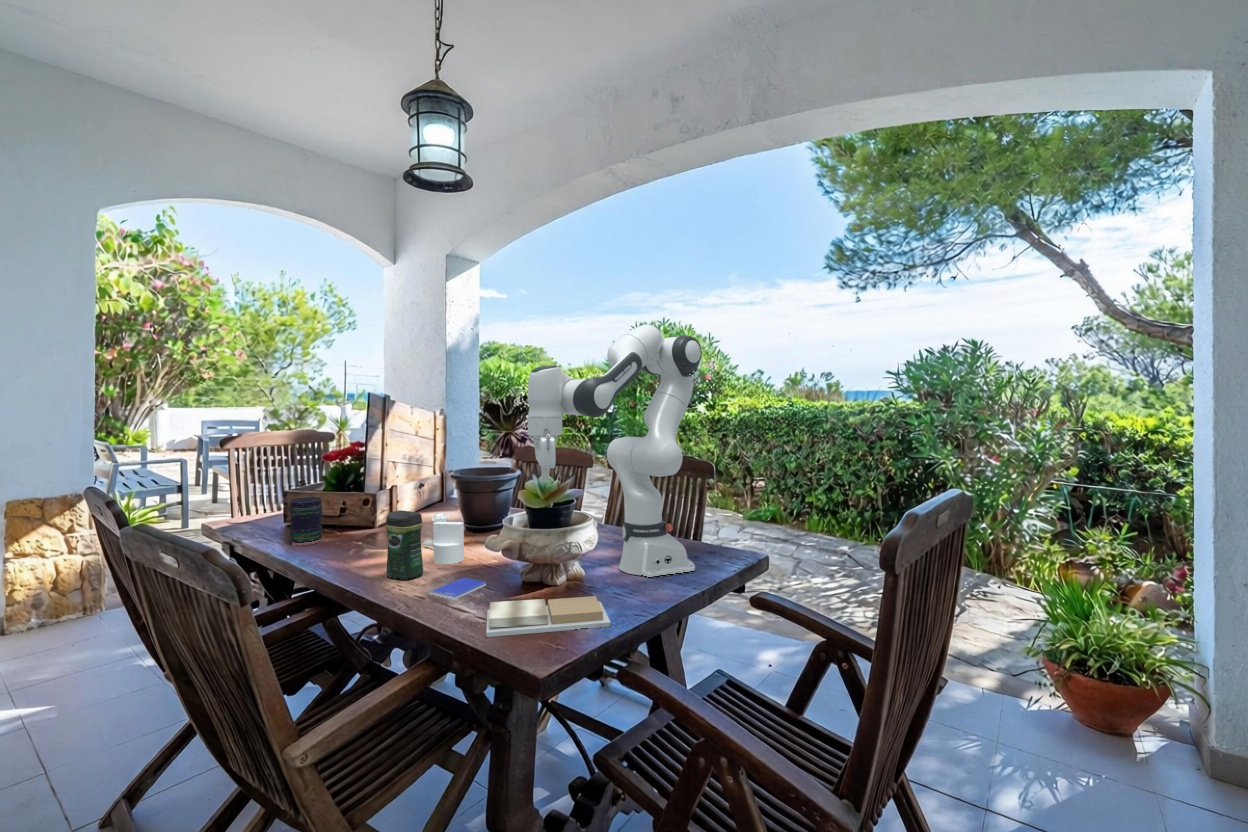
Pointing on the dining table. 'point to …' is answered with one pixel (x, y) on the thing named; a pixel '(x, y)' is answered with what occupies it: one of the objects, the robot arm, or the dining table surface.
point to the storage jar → (306, 519)
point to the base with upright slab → (448, 542)
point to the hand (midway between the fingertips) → (545, 481)
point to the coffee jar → (404, 544)
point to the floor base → (545, 626)
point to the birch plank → (518, 613)
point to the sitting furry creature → (437, 518)
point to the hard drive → (458, 588)
